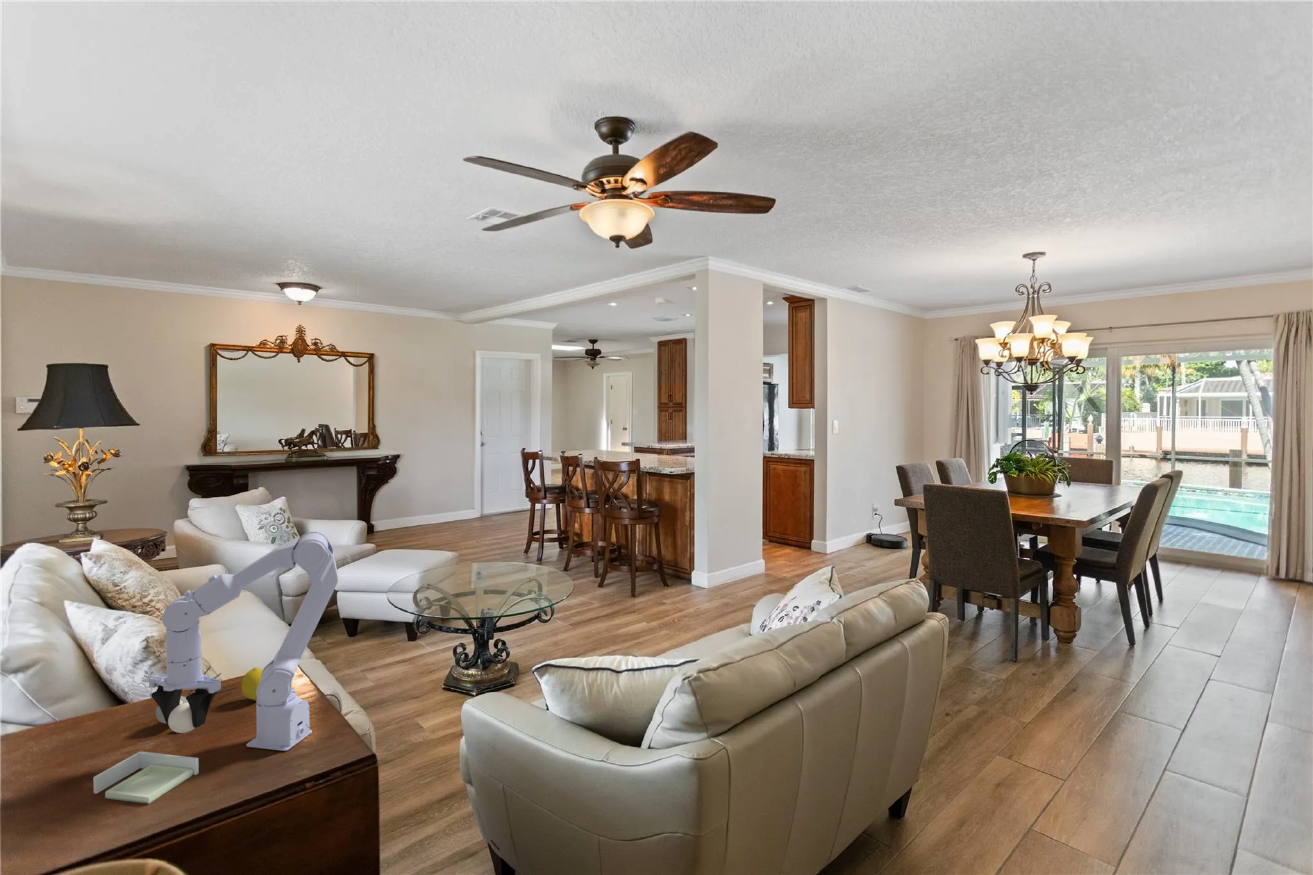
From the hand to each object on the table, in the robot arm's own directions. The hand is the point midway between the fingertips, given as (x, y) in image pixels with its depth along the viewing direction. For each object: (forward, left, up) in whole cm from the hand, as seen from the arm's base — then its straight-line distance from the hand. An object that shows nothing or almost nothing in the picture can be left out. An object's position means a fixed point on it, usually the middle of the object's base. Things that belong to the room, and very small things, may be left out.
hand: (185, 723), depth 129 cm
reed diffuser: (+13, -7, -4) cm, 15 cm away
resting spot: (-2, +10, -7) cm, 12 cm away
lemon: (+5, -24, -7) cm, 25 cm away
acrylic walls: (-1, +9, -7) cm, 11 cm away
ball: (0, 0, -2) cm, 2 cm away
